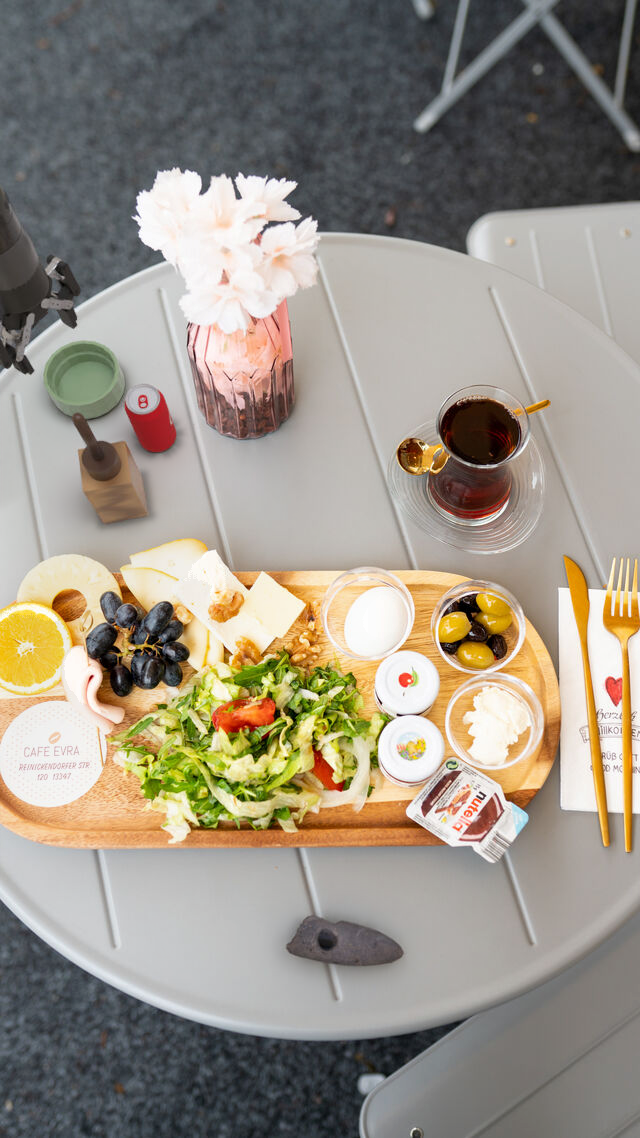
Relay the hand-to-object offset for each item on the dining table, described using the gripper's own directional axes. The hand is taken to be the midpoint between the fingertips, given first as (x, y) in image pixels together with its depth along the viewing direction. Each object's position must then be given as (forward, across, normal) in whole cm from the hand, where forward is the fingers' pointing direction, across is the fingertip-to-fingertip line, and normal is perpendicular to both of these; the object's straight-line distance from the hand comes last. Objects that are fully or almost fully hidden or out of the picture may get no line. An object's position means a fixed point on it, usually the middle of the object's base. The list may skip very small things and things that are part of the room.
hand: (49, 347), depth 108 cm
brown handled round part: (+16, +5, +9) cm, 19 cm away
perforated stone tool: (+28, +38, +74) cm, 88 cm away
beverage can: (+28, -7, +6) cm, 29 cm away
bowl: (+28, -7, -9) cm, 30 cm away
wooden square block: (+28, +5, +9) cm, 30 cm away
